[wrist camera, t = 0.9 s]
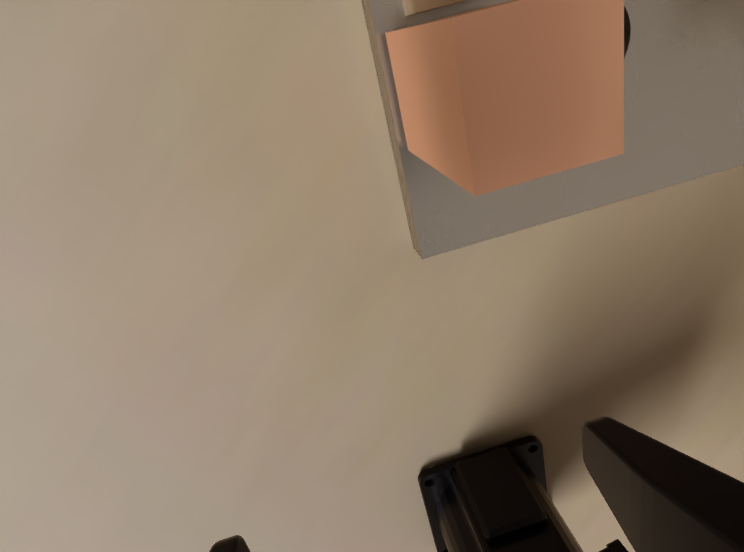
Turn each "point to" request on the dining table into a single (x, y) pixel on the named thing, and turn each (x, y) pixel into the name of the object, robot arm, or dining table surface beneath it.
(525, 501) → the robot arm
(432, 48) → the slide leg
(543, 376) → the dining table surface
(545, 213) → the flange plate
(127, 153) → the dining table surface
